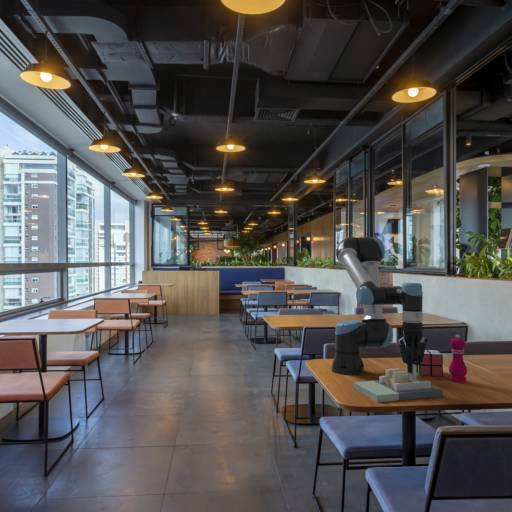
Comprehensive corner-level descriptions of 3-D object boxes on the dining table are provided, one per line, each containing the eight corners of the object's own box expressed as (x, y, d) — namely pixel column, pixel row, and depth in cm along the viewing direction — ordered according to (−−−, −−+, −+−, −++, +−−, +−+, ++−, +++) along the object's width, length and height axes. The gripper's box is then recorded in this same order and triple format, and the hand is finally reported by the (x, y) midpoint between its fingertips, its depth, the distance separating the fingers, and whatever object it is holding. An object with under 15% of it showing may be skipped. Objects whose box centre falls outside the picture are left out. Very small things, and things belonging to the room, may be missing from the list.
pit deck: (353, 388, 172) (353, 376, 172) (413, 383, 179) (413, 371, 179) (377, 402, 155) (377, 388, 155) (442, 396, 162) (442, 383, 162)
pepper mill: (466, 384, 179) (466, 336, 179) (447, 381, 183) (447, 334, 183) (468, 380, 185) (467, 334, 185) (450, 377, 189) (449, 332, 189)
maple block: (385, 384, 169) (385, 369, 169) (398, 383, 171) (398, 368, 171) (394, 388, 163) (394, 372, 163) (407, 387, 165) (407, 371, 165)
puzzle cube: (443, 377, 190) (442, 354, 191) (419, 375, 192) (419, 353, 193) (438, 371, 200) (438, 350, 200) (415, 370, 202) (415, 349, 202)
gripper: (403, 323, 164) (404, 384, 164) (432, 322, 168) (433, 382, 167) (392, 320, 171) (392, 379, 171) (420, 319, 175) (420, 377, 174)
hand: (412, 381), depth 169 cm, fingers closed
